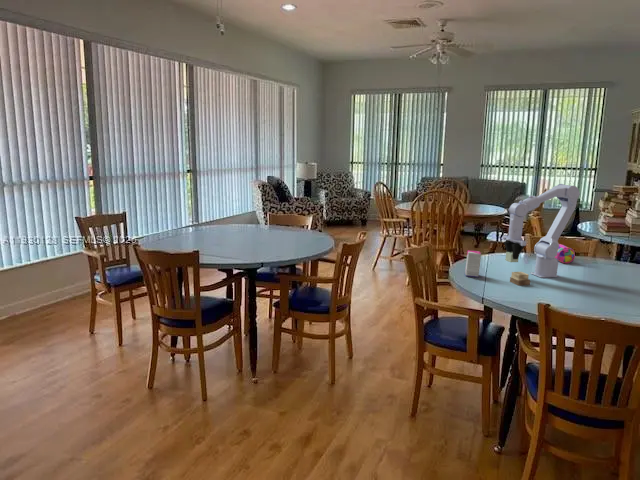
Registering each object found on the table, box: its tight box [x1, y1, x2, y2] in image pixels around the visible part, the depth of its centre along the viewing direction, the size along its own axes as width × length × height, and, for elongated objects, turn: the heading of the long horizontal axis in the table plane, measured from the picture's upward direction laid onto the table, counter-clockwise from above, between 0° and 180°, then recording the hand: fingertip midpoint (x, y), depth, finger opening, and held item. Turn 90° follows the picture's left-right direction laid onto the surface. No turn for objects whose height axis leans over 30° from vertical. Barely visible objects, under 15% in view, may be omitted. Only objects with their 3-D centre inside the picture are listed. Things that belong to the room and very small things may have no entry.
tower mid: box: [510, 271, 530, 281], centre depth 220 cm, size 5×5×2 cm
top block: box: [505, 252, 520, 263], centre depth 230 cm, size 4×4×4 cm
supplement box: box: [464, 250, 482, 279], centre depth 230 cm, size 6×6×12 cm
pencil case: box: [555, 243, 576, 264], centre depth 270 cm, size 22×9×9 cm, turn 179°
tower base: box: [509, 276, 531, 287], centre depth 221 cm, size 6×6×2 cm
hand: (512, 257), depth 230 cm, fingers closed on top block, 4 cm apart
